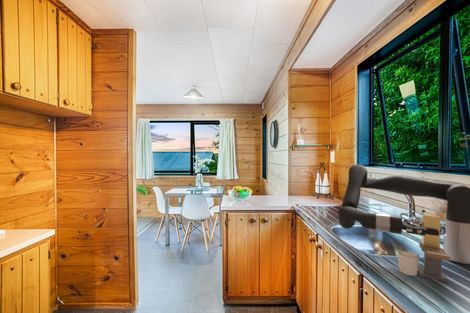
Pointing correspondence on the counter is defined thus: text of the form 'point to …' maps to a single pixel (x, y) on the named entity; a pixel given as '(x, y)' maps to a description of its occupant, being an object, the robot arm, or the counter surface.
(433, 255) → the beam
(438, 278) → the beam stand
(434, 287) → the counter surface
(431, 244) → the block
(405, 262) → the beige short cylinder
